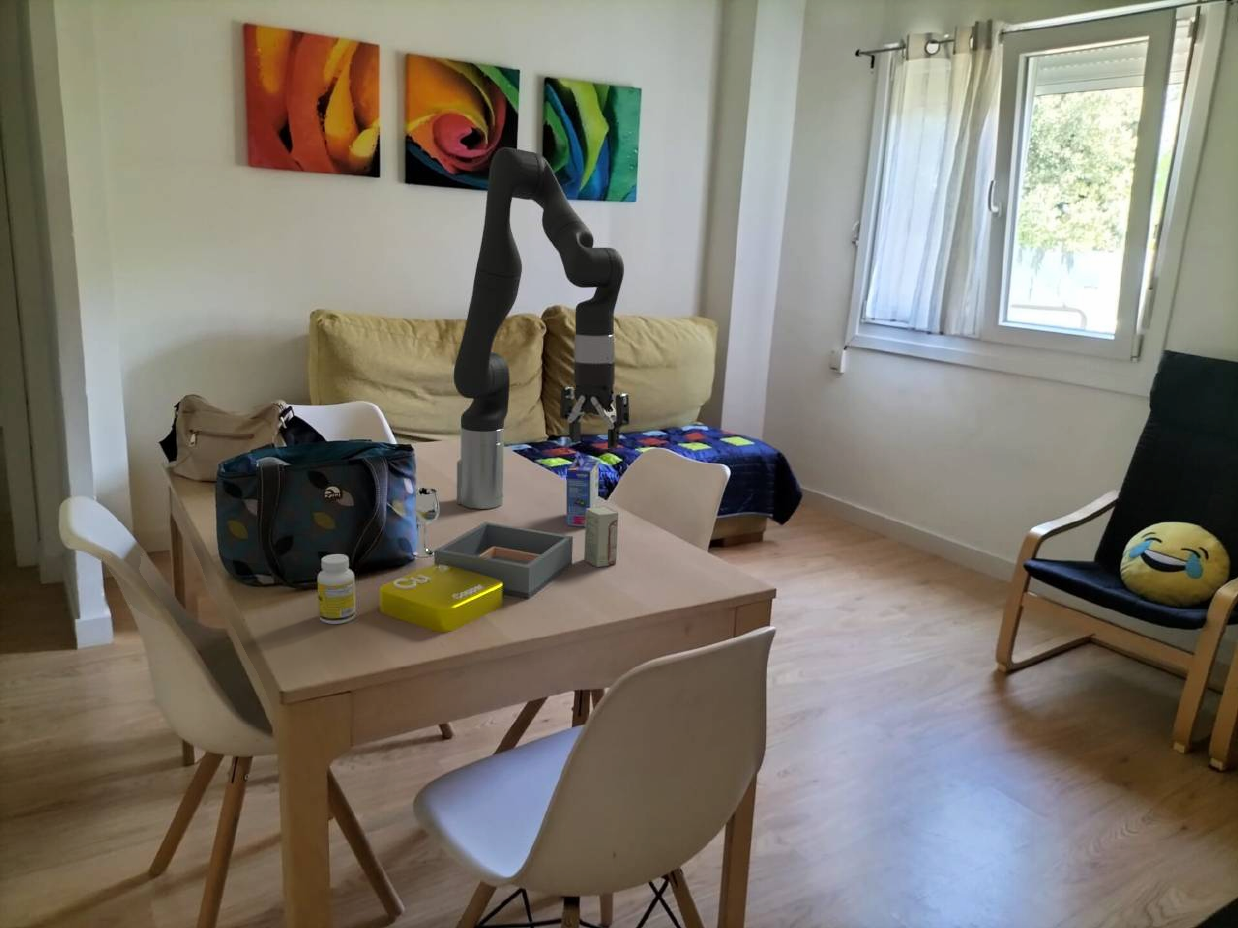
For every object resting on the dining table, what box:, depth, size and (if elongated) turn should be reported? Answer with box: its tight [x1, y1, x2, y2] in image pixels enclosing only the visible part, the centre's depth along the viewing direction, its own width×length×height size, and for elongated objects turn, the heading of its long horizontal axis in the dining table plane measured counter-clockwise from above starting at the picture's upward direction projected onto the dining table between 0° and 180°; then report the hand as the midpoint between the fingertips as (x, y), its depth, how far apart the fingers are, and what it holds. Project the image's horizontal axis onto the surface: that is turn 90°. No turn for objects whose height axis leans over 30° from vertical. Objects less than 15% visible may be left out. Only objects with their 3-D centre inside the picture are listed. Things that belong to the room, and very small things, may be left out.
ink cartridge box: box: [566, 451, 599, 528], centre depth 195 cm, size 10×6×14 cm, turn 172°
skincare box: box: [583, 506, 619, 568], centre depth 171 cm, size 5×4×10 cm
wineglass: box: [415, 487, 441, 558], centre depth 171 cm, size 6×6×12 cm
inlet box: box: [433, 521, 574, 600], centre depth 164 cm, size 18×18×6 cm
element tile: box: [379, 563, 504, 633], centre depth 149 cm, size 15×15×5 cm
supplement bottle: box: [317, 553, 356, 625], centre depth 142 cm, size 5×5×10 cm
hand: (594, 445), depth 174 cm, fingers open, 8 cm apart
